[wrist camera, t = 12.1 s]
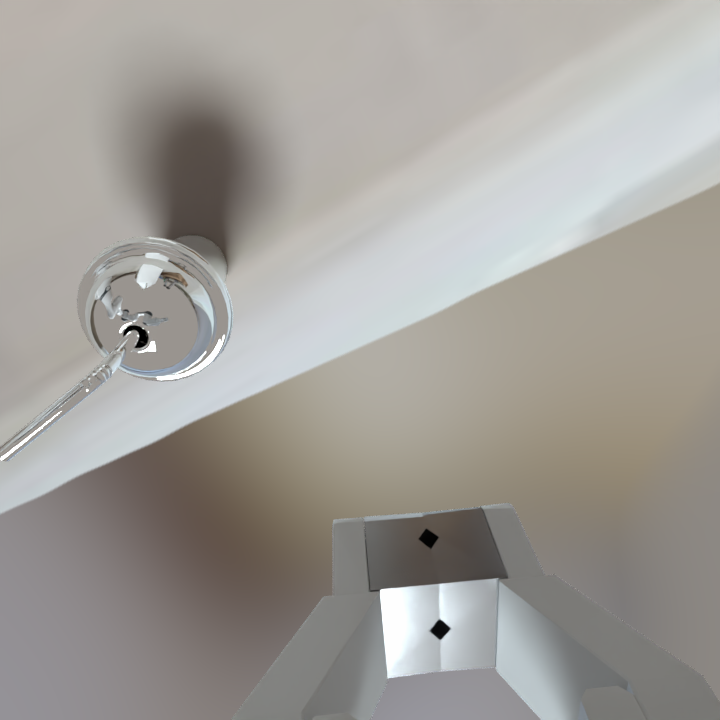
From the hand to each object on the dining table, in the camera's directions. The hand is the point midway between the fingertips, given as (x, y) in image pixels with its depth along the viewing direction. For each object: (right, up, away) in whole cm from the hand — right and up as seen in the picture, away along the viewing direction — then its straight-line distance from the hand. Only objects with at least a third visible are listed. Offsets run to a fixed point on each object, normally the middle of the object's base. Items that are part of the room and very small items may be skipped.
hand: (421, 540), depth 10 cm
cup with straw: (-13, +10, +31) cm, 35 cm away
